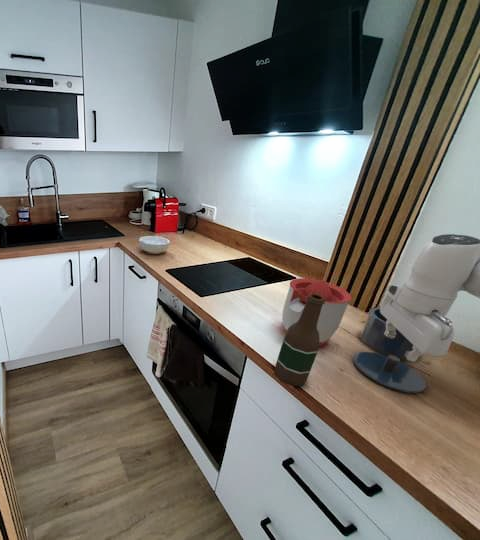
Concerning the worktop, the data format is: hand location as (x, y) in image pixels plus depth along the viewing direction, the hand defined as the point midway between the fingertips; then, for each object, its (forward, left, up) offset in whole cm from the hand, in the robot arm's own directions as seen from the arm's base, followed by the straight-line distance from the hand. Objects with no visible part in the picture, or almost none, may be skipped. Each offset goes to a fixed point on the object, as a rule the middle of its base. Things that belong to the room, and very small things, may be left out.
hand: (398, 347), depth 74 cm
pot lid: (0, 0, -8) cm, 8 cm away
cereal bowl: (+78, -73, -9) cm, 107 cm away
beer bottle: (+26, +10, -9) cm, 29 cm away
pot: (-7, -15, -9) cm, 19 cm away
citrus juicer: (+18, -11, -9) cm, 23 cm away
